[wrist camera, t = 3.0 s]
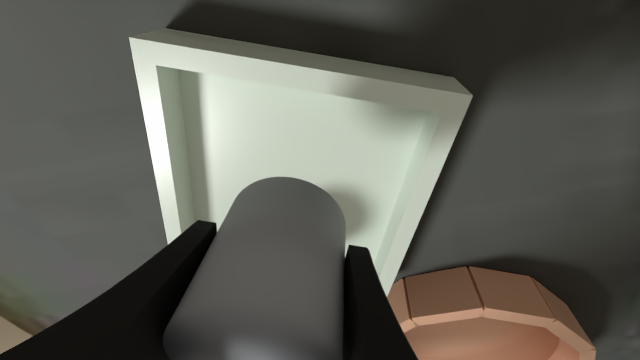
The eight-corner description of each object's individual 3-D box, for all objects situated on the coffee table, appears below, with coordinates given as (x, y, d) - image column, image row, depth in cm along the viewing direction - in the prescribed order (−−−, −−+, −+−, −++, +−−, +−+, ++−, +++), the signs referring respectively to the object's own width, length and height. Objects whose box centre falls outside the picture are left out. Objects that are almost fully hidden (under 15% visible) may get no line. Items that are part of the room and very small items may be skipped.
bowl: (503, 395, 33) (518, 435, 30) (338, 367, 33) (337, 405, 30) (617, 290, 23) (655, 335, 20) (380, 251, 23) (385, 291, 20)
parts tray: (377, 278, 25) (380, 312, 22) (192, 247, 24) (174, 278, 22) (453, 77, 16) (473, 95, 13) (164, 27, 16) (128, 37, 13)
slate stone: (335, 272, 13) (327, 412, 9) (231, 255, 13) (174, 387, 9) (356, 187, 10) (359, 325, 6) (229, 167, 10) (148, 290, 6)
